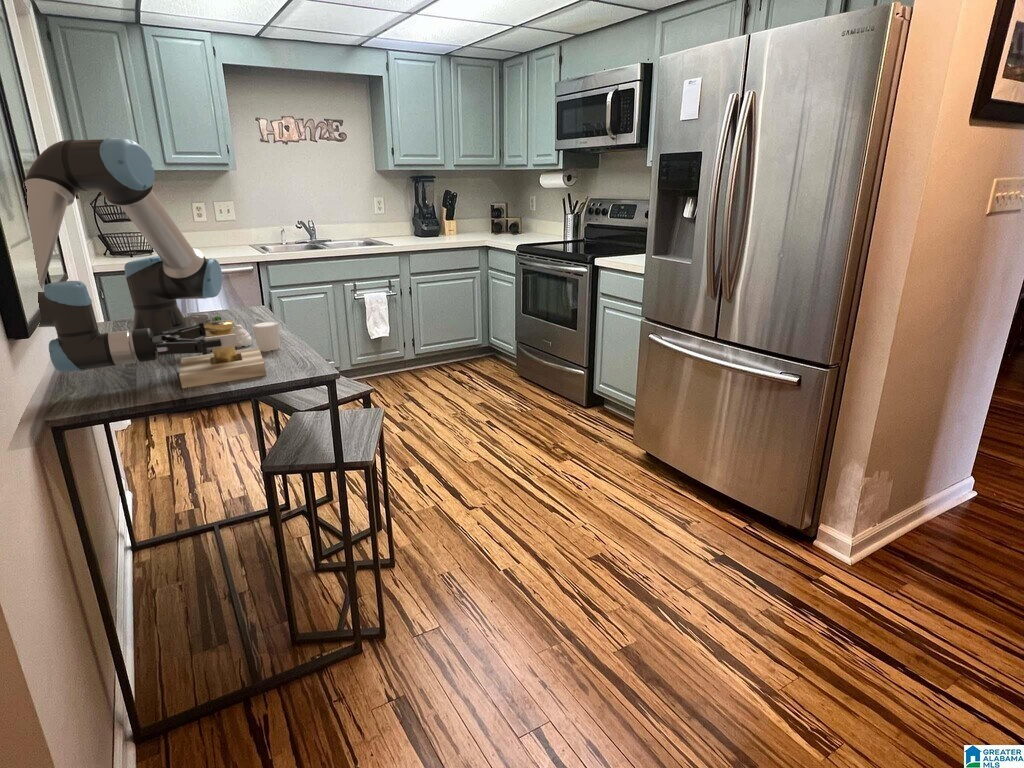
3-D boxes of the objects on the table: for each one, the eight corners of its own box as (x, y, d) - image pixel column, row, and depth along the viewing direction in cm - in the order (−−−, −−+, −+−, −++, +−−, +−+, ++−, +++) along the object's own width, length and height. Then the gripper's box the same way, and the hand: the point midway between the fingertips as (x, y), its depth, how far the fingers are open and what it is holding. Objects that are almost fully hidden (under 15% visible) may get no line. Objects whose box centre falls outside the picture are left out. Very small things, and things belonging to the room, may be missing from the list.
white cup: (284, 344, 169) (280, 320, 167) (280, 351, 162) (275, 326, 160) (259, 346, 168) (254, 321, 166) (253, 352, 161) (248, 327, 159)
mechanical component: (222, 353, 162) (215, 317, 158) (189, 352, 164) (181, 316, 160) (229, 350, 164) (222, 315, 161) (196, 349, 166) (189, 314, 163)
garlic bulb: (235, 322, 171) (252, 322, 170) (239, 342, 173) (256, 342, 172) (223, 326, 166) (241, 327, 165) (227, 347, 168) (245, 348, 167)
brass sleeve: (213, 369, 148) (203, 322, 144) (241, 365, 151) (232, 318, 147) (214, 376, 143) (204, 327, 139) (243, 372, 146) (233, 323, 141)
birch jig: (183, 369, 149) (181, 358, 148) (260, 358, 156) (258, 347, 155) (182, 388, 135) (179, 375, 134) (266, 375, 143) (264, 363, 142)
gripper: (142, 349, 148) (235, 336, 157) (133, 376, 127) (241, 361, 136) (135, 319, 146) (229, 308, 155) (124, 342, 125) (234, 329, 133)
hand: (235, 333), depth 145 cm, fingers open, 13 cm apart
